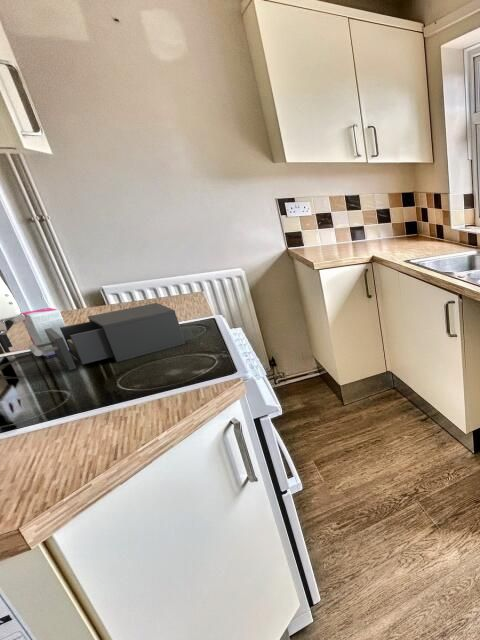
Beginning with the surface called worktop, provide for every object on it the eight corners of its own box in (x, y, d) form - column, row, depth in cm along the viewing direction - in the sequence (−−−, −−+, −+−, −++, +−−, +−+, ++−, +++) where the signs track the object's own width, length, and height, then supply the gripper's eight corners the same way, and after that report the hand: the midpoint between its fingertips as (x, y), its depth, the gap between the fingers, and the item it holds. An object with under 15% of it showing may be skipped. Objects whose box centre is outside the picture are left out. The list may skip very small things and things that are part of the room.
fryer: (116, 362, 104) (102, 325, 100) (101, 350, 111) (87, 316, 108) (185, 343, 115) (174, 310, 111) (167, 334, 122) (156, 302, 119)
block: (78, 358, 101) (71, 343, 100) (73, 355, 103) (66, 340, 102) (100, 352, 104) (93, 337, 103) (94, 349, 107) (88, 335, 105)
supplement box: (77, 350, 112) (59, 309, 108) (47, 358, 107) (27, 315, 103) (67, 347, 114) (48, 306, 110) (37, 355, 109) (17, 313, 105)
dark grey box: (45, 376, 95) (30, 344, 92) (35, 364, 101) (20, 334, 99) (141, 351, 108) (130, 322, 105) (126, 341, 115) (116, 314, 112)
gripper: (11, 261, 94) (48, 338, 101) (-101, 275, 83) (-51, 360, 90) (17, 264, 90) (55, 344, 97) (-100, 279, 79) (-48, 368, 85)
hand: (4, 351), depth 93 cm, fingers closed
